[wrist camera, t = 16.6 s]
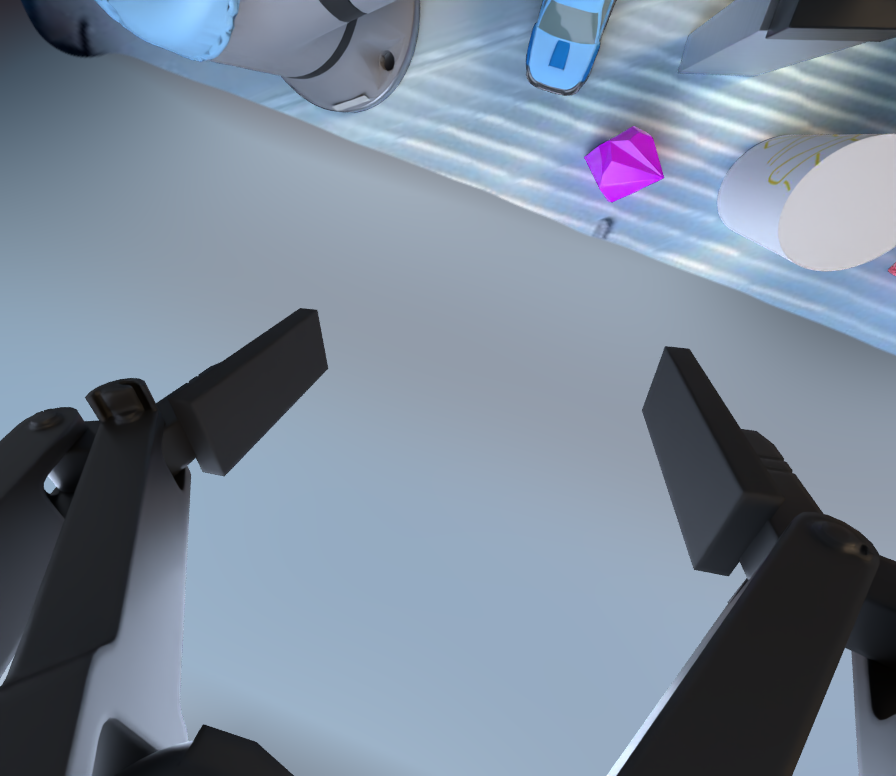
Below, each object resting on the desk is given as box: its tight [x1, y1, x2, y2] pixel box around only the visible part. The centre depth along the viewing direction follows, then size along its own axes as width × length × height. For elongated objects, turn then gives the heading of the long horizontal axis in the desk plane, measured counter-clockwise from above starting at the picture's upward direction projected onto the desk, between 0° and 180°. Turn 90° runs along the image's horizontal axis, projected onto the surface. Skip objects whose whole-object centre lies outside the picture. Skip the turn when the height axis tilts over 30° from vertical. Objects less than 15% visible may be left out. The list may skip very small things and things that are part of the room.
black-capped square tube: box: [678, 0, 896, 76], centre depth 24 cm, size 3×6×18 cm, turn 87°
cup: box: [717, 134, 896, 271], centre depth 30 cm, size 8×8×12 cm
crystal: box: [584, 126, 664, 202], centre depth 35 cm, size 5×5×5 cm
